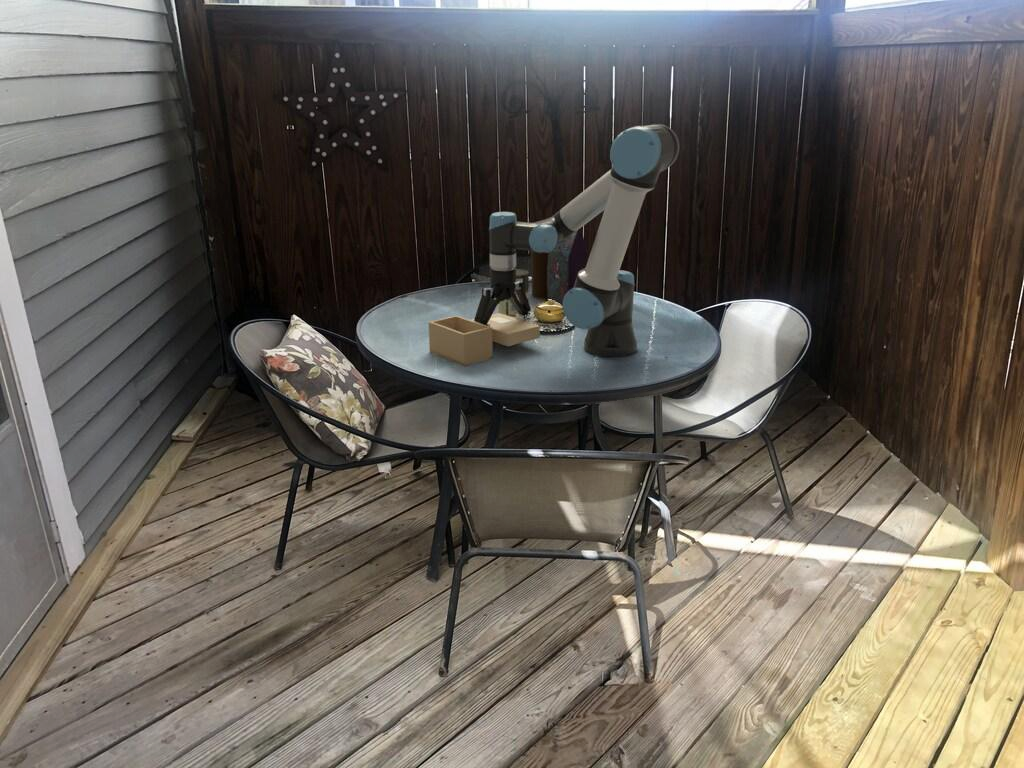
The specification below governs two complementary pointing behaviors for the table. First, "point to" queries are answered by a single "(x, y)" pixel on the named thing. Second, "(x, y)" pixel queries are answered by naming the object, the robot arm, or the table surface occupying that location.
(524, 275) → the coffee can
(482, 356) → the kraft box
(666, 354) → the table surface
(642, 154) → the robot arm
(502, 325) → the lid
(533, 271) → the olive oil
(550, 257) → the decorative box
